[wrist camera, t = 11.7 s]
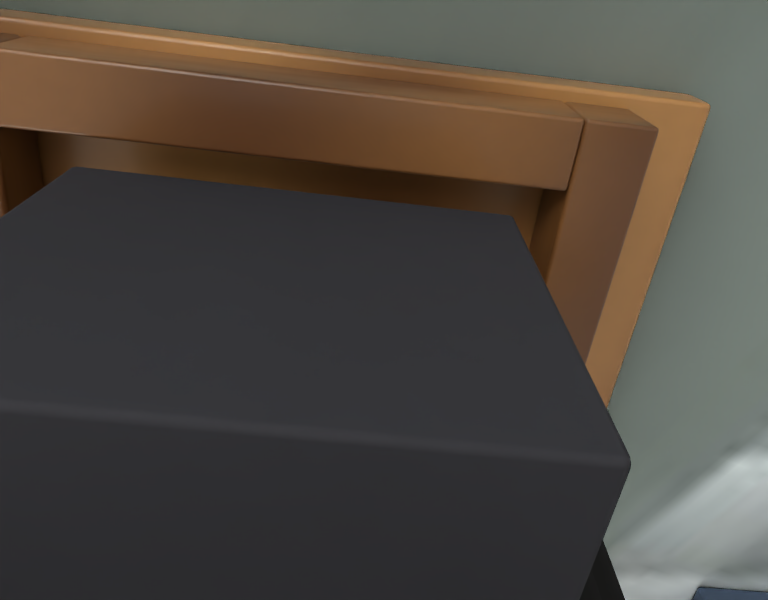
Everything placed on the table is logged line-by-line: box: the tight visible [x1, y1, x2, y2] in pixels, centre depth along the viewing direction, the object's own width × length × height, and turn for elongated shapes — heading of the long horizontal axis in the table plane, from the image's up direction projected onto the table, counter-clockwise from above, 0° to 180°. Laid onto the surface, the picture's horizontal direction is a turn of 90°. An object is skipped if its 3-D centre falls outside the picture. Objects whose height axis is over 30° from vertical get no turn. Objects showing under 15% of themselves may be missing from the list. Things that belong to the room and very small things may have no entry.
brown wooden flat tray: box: [0, 8, 710, 409], centre depth 14 cm, size 12×20×2 cm, turn 173°
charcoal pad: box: [0, 166, 631, 600], centre depth 9 cm, size 6×8×5 cm
